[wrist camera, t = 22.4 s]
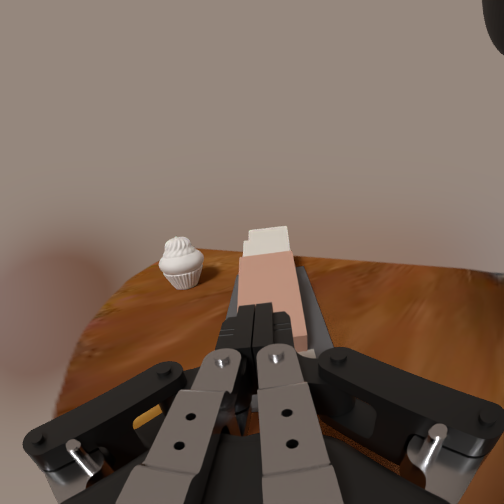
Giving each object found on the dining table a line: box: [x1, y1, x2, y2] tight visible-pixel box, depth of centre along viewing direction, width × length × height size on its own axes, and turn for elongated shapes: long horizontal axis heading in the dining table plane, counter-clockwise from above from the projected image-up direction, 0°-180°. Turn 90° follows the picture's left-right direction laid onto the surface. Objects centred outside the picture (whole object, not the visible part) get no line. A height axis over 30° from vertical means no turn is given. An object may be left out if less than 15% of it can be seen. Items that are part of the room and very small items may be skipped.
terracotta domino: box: [237, 250, 308, 352], centre depth 24 cm, size 2×5×10 cm
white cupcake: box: [159, 236, 204, 290], centre depth 39 cm, size 6×6×7 cm
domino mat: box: [226, 266, 334, 412], centre depth 28 cm, size 24×9×1 cm, turn 177°
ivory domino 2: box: [243, 236, 290, 257], centre depth 30 cm, size 2×5×10 cm
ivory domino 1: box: [249, 226, 290, 248], centre depth 35 cm, size 2×5×10 cm
